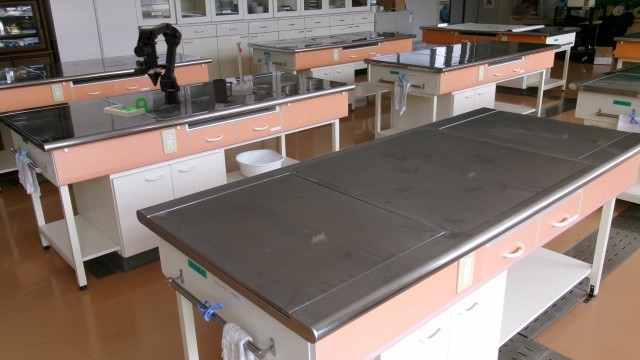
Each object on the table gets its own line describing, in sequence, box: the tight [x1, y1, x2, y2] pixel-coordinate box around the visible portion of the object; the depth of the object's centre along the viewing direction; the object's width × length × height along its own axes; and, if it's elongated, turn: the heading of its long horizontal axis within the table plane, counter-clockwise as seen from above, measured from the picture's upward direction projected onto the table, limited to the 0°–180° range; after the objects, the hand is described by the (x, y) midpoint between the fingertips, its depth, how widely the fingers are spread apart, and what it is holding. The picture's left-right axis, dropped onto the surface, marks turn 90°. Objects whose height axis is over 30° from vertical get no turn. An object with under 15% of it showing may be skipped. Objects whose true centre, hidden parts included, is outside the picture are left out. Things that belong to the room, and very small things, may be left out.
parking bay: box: [103, 103, 146, 118], centre depth 263 cm, size 10×19×2 cm, turn 55°
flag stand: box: [232, 39, 254, 96], centre depth 297 cm, size 13×13×30 cm
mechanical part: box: [122, 96, 149, 114], centre depth 263 cm, size 12×6×8 cm, turn 108°
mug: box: [212, 78, 233, 104], centre depth 280 cm, size 10×7×12 cm
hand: (155, 86), depth 265 cm, fingers closed
